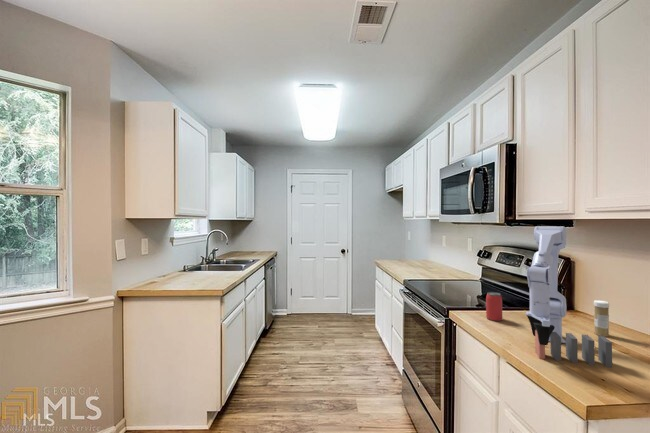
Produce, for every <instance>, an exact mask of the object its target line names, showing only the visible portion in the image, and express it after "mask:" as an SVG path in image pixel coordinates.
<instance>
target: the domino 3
mask: <svg viewBox="0 0 650 433" xmlns="http://www.w3.org/2000/svg"><path fill="white" fill-rule="evenodd" d="M595 354H596V352H595V340H594V339H593V338H592V337H591V336H589V334H581V358H582V360H584V361H585V363H586V364H588V366H589V365H590V366H595V363H596V361H595V359H596V358H595Z"/></svg>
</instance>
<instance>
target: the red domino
mask: <svg viewBox="0 0 650 433" xmlns="http://www.w3.org/2000/svg"><path fill="white" fill-rule="evenodd" d="M534 337H535V338H534V340H535V341H534V342H535V346H534V348H535V352H534V353H535V354H536V355H537V357H538V358H539V359H541V360H546V345H540V343H539V340H538V334H537V330H535V336H534Z"/></svg>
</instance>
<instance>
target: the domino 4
mask: <svg viewBox="0 0 650 433" xmlns="http://www.w3.org/2000/svg"><path fill="white" fill-rule="evenodd" d="M597 340H598V341H597V343H598V346H597V349H598V350H597V352H598V356H597V357H598V361H599V362H600V363H601V364H603V366H604V367H605V368H613V342H612V341H610V340H609V339H608V338H607V337H604V336H599V335H597Z"/></svg>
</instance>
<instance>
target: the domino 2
mask: <svg viewBox="0 0 650 433" xmlns="http://www.w3.org/2000/svg"><path fill="white" fill-rule="evenodd" d="M565 341H566V343H565V357H566V358H567V359H568V360H569V361H570V362H571V363H572V364H578V360H579V358H578V355H579V354H578V352H579V350H578V338H577V337H576V336H575V335H574V334H572V333H570V332H569V333H568V332H565Z"/></svg>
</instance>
